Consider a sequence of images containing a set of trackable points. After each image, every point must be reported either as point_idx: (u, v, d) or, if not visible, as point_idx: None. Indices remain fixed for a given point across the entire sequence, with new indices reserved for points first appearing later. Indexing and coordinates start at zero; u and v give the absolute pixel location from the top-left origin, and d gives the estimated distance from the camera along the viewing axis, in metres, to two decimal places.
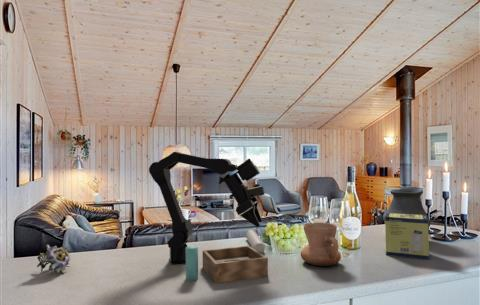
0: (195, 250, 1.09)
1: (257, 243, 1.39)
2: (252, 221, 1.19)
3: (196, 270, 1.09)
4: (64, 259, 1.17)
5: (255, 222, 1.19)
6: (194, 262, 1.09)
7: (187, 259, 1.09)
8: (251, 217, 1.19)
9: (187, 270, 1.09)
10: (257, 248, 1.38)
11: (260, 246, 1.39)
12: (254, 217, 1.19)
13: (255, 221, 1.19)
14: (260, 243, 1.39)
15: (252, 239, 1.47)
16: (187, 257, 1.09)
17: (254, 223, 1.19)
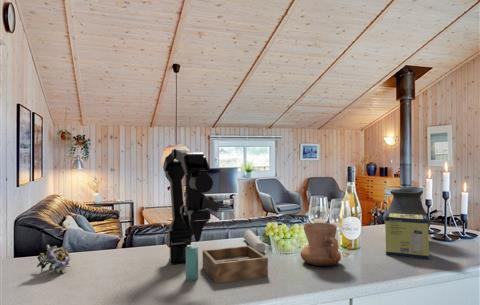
0: (195, 250, 1.09)
1: (258, 243, 1.39)
2: (195, 233, 1.05)
3: (196, 270, 1.09)
4: (64, 259, 1.17)
5: (198, 235, 1.06)
6: (194, 262, 1.09)
7: (187, 259, 1.09)
8: (197, 228, 1.05)
9: (187, 270, 1.09)
10: (258, 248, 1.38)
11: (261, 246, 1.39)
12: (200, 230, 1.06)
13: (198, 234, 1.06)
14: (261, 243, 1.39)
15: (252, 239, 1.47)
16: (187, 257, 1.09)
17: (196, 236, 1.06)
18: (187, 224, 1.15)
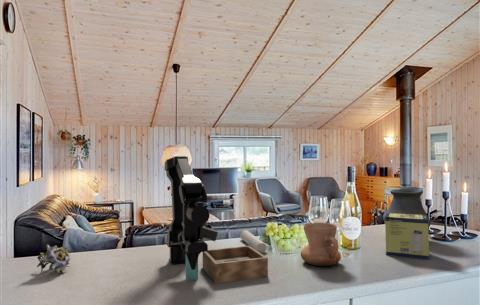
0: None
1: (259, 243, 1.39)
2: (191, 262, 1.07)
3: (196, 270, 1.09)
4: (65, 259, 1.17)
5: (193, 264, 1.08)
6: None
7: (187, 259, 1.09)
8: (193, 257, 1.07)
9: (187, 270, 1.09)
10: (260, 248, 1.39)
11: (263, 246, 1.39)
12: (196, 259, 1.08)
13: (194, 263, 1.08)
14: (262, 243, 1.40)
15: (251, 239, 1.47)
16: None
17: (192, 264, 1.08)
18: None
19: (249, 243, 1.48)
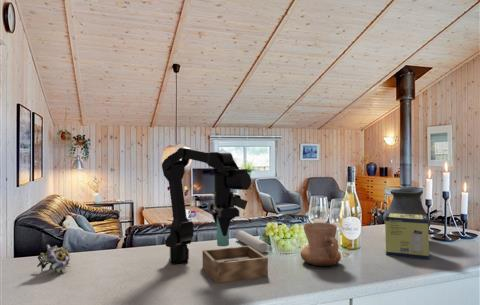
0: None
1: (261, 243, 1.40)
2: (223, 228, 1.12)
3: (227, 237, 1.14)
4: (65, 259, 1.17)
5: (225, 230, 1.12)
6: None
7: (218, 226, 1.14)
8: (225, 224, 1.12)
9: (218, 236, 1.14)
10: (262, 248, 1.39)
11: (264, 246, 1.39)
12: (227, 225, 1.12)
13: (225, 229, 1.12)
14: (264, 243, 1.40)
15: (251, 239, 1.47)
16: (218, 224, 1.14)
17: (223, 231, 1.12)
18: None
19: (248, 243, 1.48)
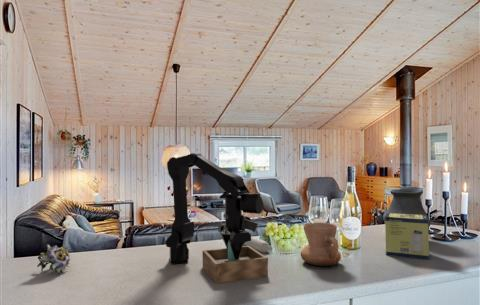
0: None
1: (262, 243, 1.40)
2: (235, 252, 1.13)
3: None
4: (65, 259, 1.17)
5: (237, 254, 1.13)
6: None
7: (229, 253, 1.16)
8: (237, 248, 1.13)
9: None
10: (263, 247, 1.39)
11: (266, 245, 1.40)
12: (239, 249, 1.13)
13: (237, 253, 1.13)
14: (265, 242, 1.41)
15: None
16: (229, 251, 1.16)
17: (235, 254, 1.13)
18: (227, 243, 1.20)
19: (247, 243, 1.47)
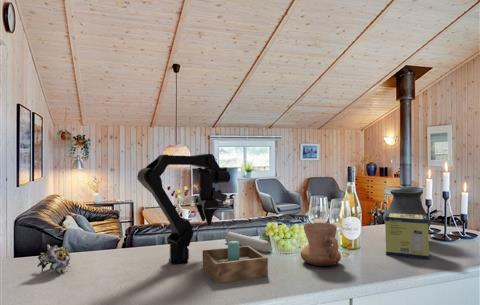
0: (237, 244, 1.16)
1: (265, 242, 1.41)
2: (207, 218, 1.31)
3: None
4: (65, 259, 1.17)
5: (209, 220, 1.32)
6: (236, 256, 1.15)
7: (229, 253, 1.16)
8: (209, 215, 1.31)
9: None
10: (266, 247, 1.40)
11: (268, 245, 1.41)
12: (211, 216, 1.32)
13: (210, 219, 1.32)
14: (267, 242, 1.41)
15: (250, 240, 1.46)
16: (229, 251, 1.16)
17: (208, 221, 1.32)
18: (200, 212, 1.41)
19: (246, 244, 1.47)
